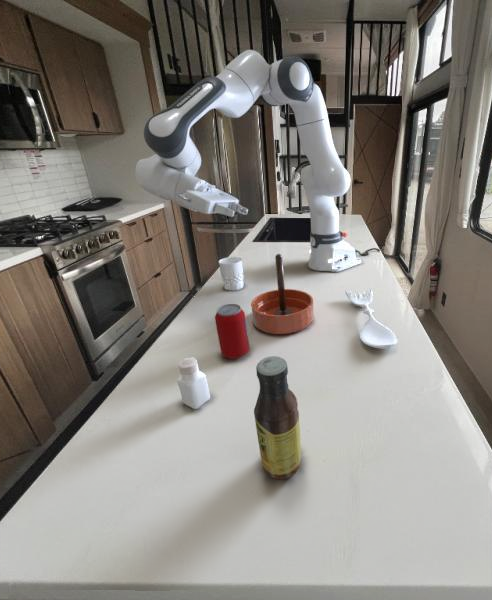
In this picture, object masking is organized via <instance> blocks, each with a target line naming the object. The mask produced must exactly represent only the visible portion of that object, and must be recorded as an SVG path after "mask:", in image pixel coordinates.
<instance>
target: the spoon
mask: <svg viewBox="0 0 492 600" xmlns="http://www.w3.org/2000/svg"><path fill="white" fill-rule="evenodd" d="M345 296H346V297H347V299H348V300H349V301H350V302H351V303H352V304H353V305H355V306H358V307H361V308H364V310H362V312H363V314H365V315H367V316H368V319H367V321H366V323H364V324H363V326H362V328H361V329H360V331H359V338H360V340H361V341H362V342H363V343H364V344H365V345H366V346H369V347H371V348H375V349H389V348H391V347H394V346H395V345H396V344H397V342H398V338H397V337H398V336H397V335H396V334H395V333H394V331H392V330H391V329H390V328H389V327H387V326H386V325H384V324H382V323H381V322H380V321H378V320H377V319H375V317H374V316H373V313H375V310H373V309H372V308H370V306H369V305H370V304H371V303H372V302H373V290H372V288H370V289H369V291H368V290H366V293H365V291H362V294H361V292H360V291H357V295H356V293H355V291H353V292H351V291H349V292H348V290H345Z"/></svg>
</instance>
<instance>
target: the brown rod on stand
mask: <svg viewBox="0 0 492 600" xmlns="http://www.w3.org/2000/svg"><path fill="white" fill-rule="evenodd" d="M274 260H275V268H276V269H275V271H276V282H277V290H278V294H279V306H280V308H278V309H276V310H275V311H274V315H288V314H293V313H292V310H291V309H290V308H286V300H285V289H286V287H285V276H284V275H285V274H284V263H283V255H282V254H280V253H277V254H276V255H275V258H274Z"/></svg>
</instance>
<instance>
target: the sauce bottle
mask: <svg viewBox="0 0 492 600" xmlns="http://www.w3.org/2000/svg"><path fill="white" fill-rule="evenodd" d="M288 368H289V367H288V362H287V360H286V359H284V358H283V357H282V356H281V357H280V356H276V355H271V356H266V357H263V358H262V359H261V360H260V361H259V362H257V365H256V367H255V369H256V377H257V379H258V383H259V392H258V395H257V399H256V402H255V405H254V409H253V415H254V422H255V428H256V429H255V430H256V435H257V441H258V447H259V448H258V449H259V454H260V461H261V465H262V467H263V469H264V471H265V473H266V474H267V475H268V476H269V477H271V478H272V479H273V478H274V479H278V480H283V479H288V478H289V477H291V476H293V475H294V474H296V473H297V472H298V470H299V469H300V465H301V460H302V443H301V429H300V427H301V426H300V415H299V408H298V407H299V406H298V405H299V404H298V400H297V396H296V395H295V393H294V392H293V390H291V389H290V388H289V383H288V374H289V369H288Z"/></svg>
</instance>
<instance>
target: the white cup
mask: <svg viewBox="0 0 492 600" xmlns="http://www.w3.org/2000/svg"><path fill="white" fill-rule="evenodd" d="M218 267H219V271H220V275H221V276H220V277H221V279H222V282H223V288H224V290H226V291H238V290H242V288H244V286H245V284H244V268H243V267H244V266H243V259H242V258H241V257H239V256H228V257H224V258H221V259H219V260H218Z"/></svg>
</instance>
